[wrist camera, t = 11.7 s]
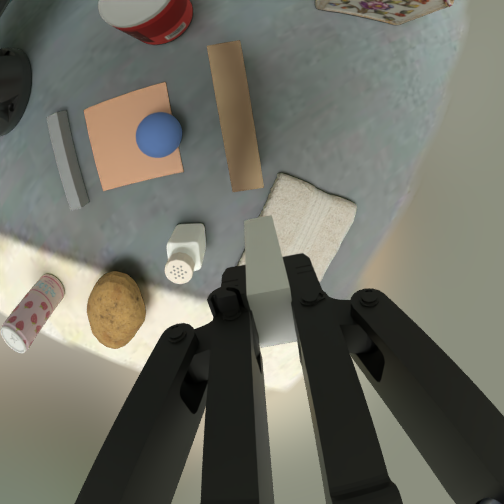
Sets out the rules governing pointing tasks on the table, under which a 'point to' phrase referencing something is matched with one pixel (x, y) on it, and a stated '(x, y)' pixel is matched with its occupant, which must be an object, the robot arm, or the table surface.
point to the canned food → (148, 18)
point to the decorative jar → (385, 8)
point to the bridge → (235, 115)
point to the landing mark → (128, 138)
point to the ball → (158, 135)
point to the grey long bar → (67, 160)
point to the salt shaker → (185, 252)
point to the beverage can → (32, 313)
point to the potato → (115, 309)
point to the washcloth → (307, 221)
